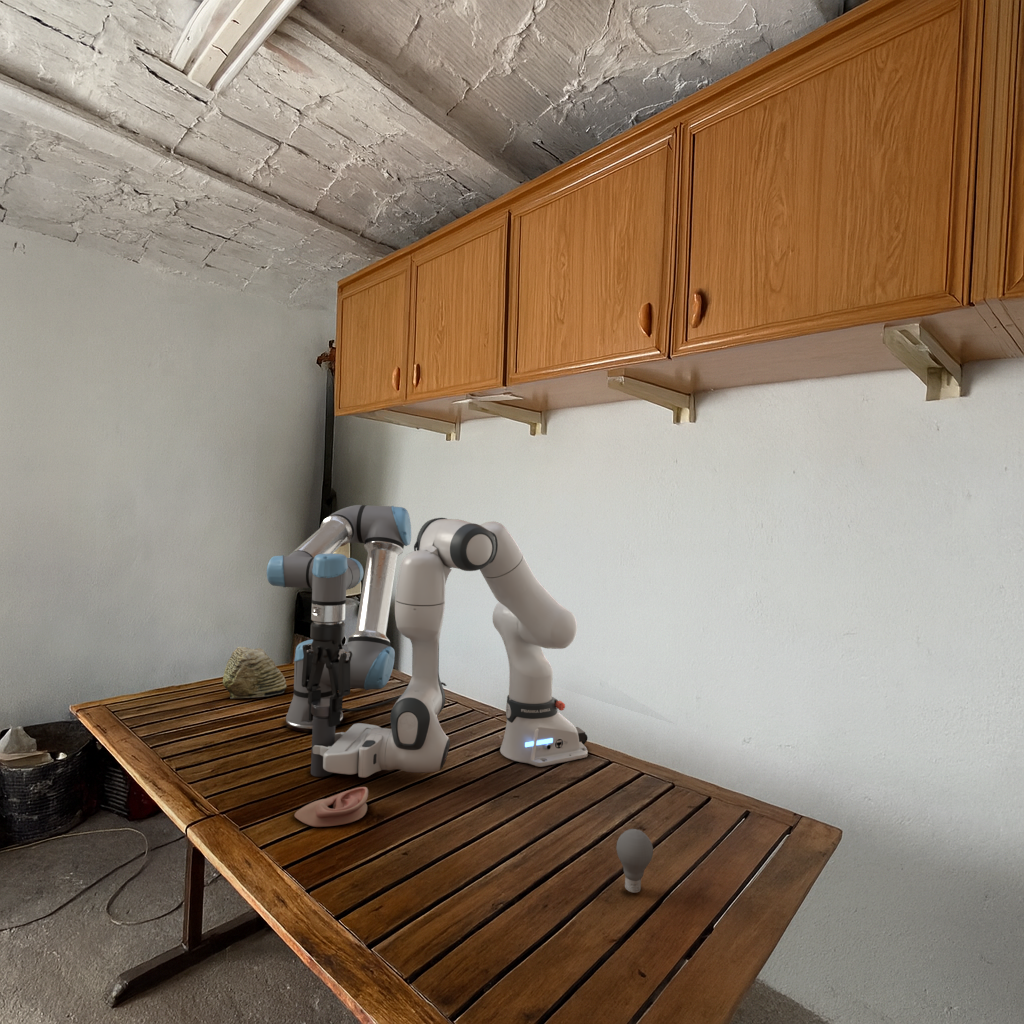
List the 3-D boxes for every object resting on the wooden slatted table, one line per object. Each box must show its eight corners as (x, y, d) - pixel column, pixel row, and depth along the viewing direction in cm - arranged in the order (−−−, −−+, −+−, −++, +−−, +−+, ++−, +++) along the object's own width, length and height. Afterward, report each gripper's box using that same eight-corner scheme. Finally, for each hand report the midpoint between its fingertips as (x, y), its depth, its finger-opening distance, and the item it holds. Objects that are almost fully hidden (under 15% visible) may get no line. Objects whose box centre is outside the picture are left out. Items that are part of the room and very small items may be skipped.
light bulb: (610, 879, 108) (613, 822, 108) (644, 879, 109) (647, 822, 109) (619, 902, 102) (622, 840, 102) (655, 901, 103) (658, 840, 103)
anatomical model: (286, 802, 122) (316, 777, 134) (285, 822, 122) (315, 795, 134) (350, 811, 120) (375, 785, 131) (349, 832, 120) (374, 804, 131)
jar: (333, 766, 149) (335, 702, 148) (333, 775, 144) (336, 709, 144) (310, 768, 147) (313, 703, 147) (310, 777, 142) (313, 710, 142)
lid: (305, 714, 144) (305, 704, 143) (321, 706, 149) (322, 697, 149) (327, 718, 141) (327, 708, 141) (343, 710, 147) (343, 700, 147)
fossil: (218, 695, 195) (220, 647, 195) (278, 685, 208) (279, 640, 207) (228, 703, 189) (230, 653, 188) (289, 692, 201) (290, 645, 201)
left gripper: (286, 618, 146) (283, 717, 147) (346, 630, 137) (341, 736, 137) (312, 614, 153) (308, 709, 153) (370, 624, 143) (366, 726, 144)
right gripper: (391, 719, 154) (336, 714, 156) (364, 751, 134) (301, 746, 135) (390, 744, 155) (335, 740, 156) (362, 781, 134) (300, 775, 136)
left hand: (324, 721), depth 145 cm, fingers closed on lid, 6 cm apart
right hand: (319, 743), depth 145 cm, fingers closed on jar, 5 cm apart
